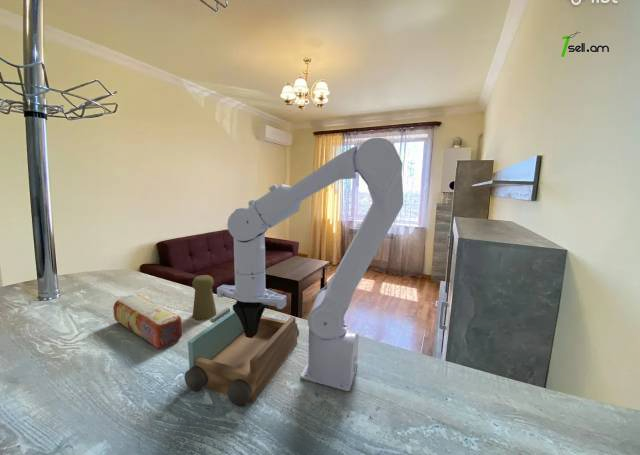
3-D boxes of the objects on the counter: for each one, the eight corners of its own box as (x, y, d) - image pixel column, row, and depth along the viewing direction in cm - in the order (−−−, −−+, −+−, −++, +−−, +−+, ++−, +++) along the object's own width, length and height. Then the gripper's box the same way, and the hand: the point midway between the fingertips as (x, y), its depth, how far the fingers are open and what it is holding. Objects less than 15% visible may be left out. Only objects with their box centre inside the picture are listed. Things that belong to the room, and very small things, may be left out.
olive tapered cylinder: (207, 321, 69) (205, 281, 67) (187, 318, 70) (185, 279, 68) (220, 311, 75) (219, 273, 73) (201, 308, 76) (200, 271, 74)
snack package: (186, 339, 62) (184, 311, 61) (156, 353, 56) (153, 324, 55) (141, 313, 73) (139, 290, 72) (113, 324, 67) (110, 299, 66)
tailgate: (251, 324, 64) (251, 297, 63) (194, 373, 47) (192, 337, 46) (245, 322, 65) (244, 296, 63) (186, 370, 48) (183, 335, 47)
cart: (299, 340, 62) (299, 312, 60) (248, 409, 43) (247, 370, 41) (251, 329, 66) (250, 303, 65) (185, 388, 47) (182, 352, 46)
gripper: (293, 268, 52) (292, 332, 54) (231, 260, 57) (233, 318, 59) (276, 280, 46) (276, 352, 48) (208, 269, 50) (211, 335, 52)
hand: (251, 335), depth 53 cm, fingers closed
